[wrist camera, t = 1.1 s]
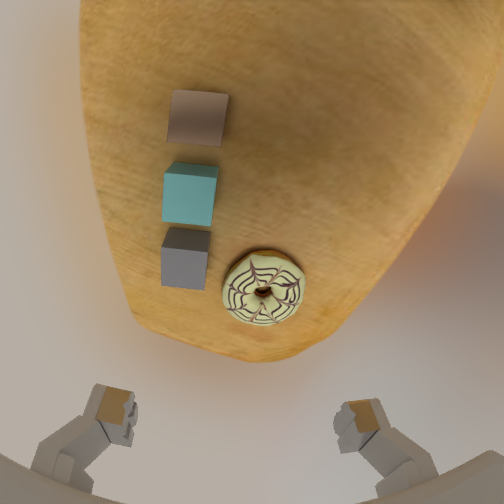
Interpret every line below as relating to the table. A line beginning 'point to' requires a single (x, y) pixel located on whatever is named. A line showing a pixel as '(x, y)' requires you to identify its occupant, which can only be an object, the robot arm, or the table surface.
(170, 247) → the charcoal cube
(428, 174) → the table surface
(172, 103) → the walnut cube
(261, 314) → the decorated donut
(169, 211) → the teal cube
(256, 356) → the table surface
